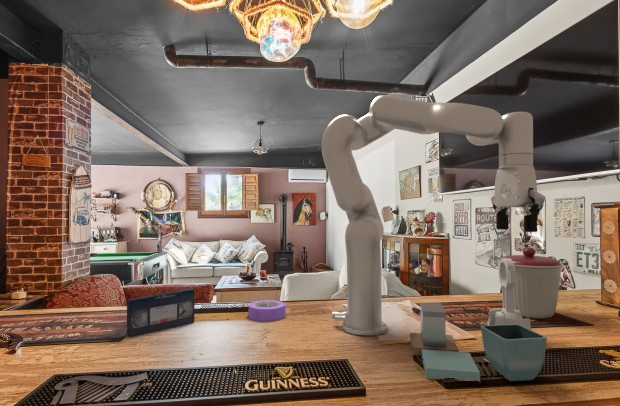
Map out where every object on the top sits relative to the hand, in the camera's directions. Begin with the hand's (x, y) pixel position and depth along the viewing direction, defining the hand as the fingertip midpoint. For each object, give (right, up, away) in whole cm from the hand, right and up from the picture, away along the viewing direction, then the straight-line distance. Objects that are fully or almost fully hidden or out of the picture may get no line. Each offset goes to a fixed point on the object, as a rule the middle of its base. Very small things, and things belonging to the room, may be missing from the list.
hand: (515, 230), depth 93 cm
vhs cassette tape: (-94, -29, +12) cm, 99 cm away
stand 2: (-23, -28, -16) cm, 39 cm away
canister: (+17, -28, +24) cm, 41 cm away
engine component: (0, -28, +3) cm, 28 cm away
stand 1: (-22, -28, -5) cm, 36 cm away
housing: (-22, -26, -5) cm, 35 cm away
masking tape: (-65, -29, +24) cm, 75 cm away
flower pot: (-11, -28, -19) cm, 35 cm away
